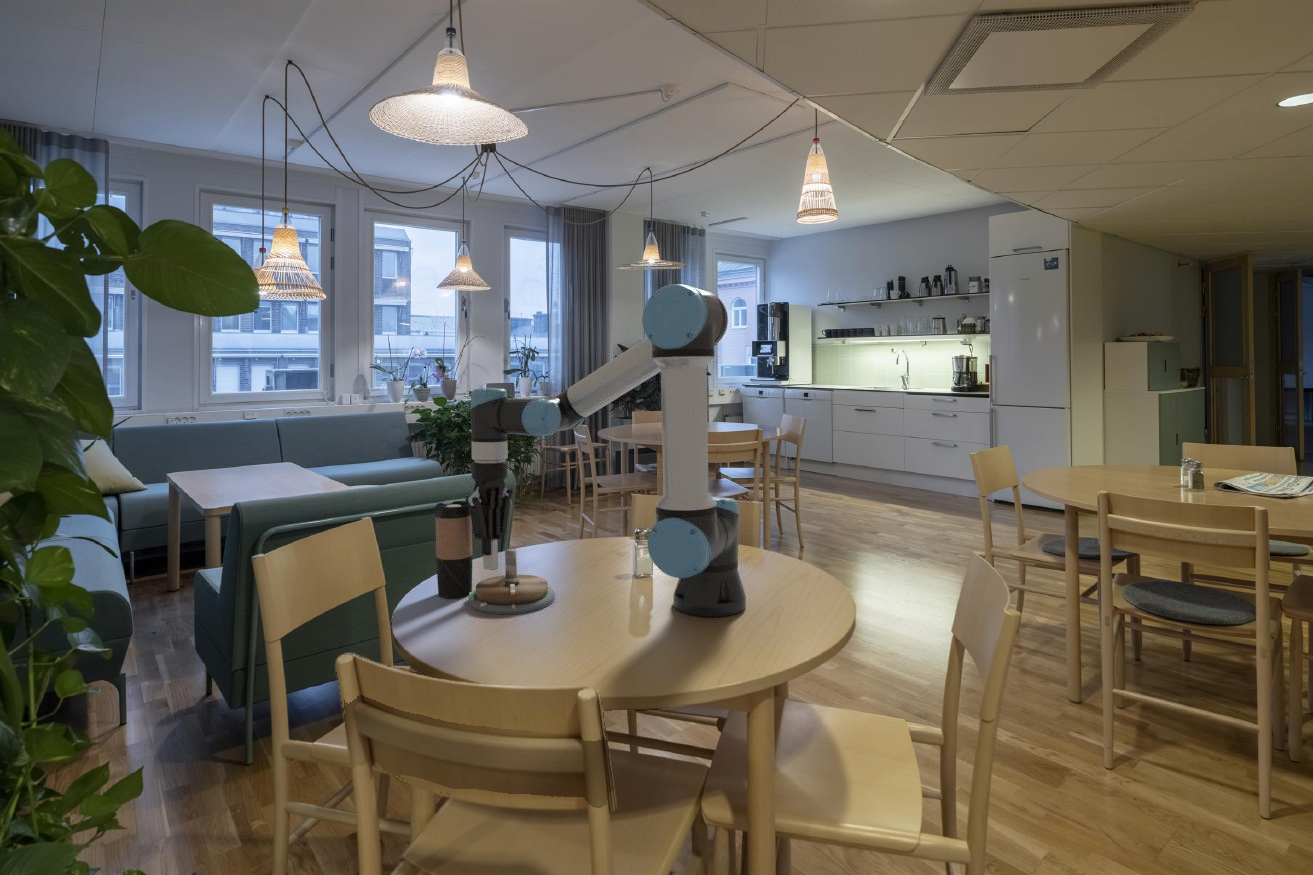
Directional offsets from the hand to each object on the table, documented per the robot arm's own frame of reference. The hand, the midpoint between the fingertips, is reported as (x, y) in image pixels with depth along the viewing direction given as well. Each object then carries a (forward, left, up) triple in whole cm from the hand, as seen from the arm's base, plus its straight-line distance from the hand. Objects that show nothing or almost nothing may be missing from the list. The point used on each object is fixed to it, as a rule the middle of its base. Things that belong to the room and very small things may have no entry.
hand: (490, 568), depth 159 cm
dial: (-6, +1, -5) cm, 7 cm away
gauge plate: (-6, +1, -6) cm, 8 cm away
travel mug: (+8, +2, -6) cm, 11 cm away
